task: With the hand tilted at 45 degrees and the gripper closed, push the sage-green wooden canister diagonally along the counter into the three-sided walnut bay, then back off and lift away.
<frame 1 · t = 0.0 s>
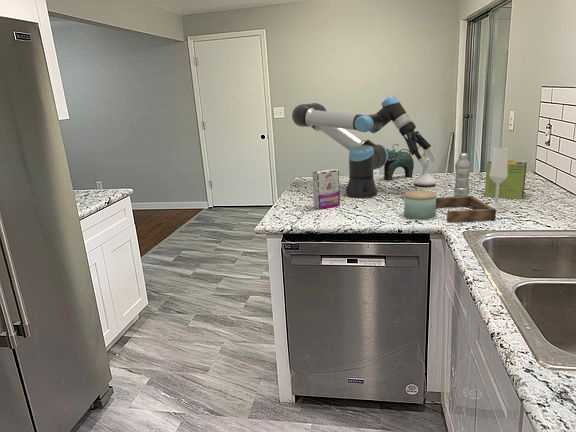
hand: (429, 162, 206), 15 cm above the countertop, tool tilted 35°, fingers open, 13 cm apart
flower in vase: (424, 185, 230), on the countertop
green canister: (419, 215, 176), on the countertop
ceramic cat: (397, 179, 251), on the countertop
plastic bottle: (461, 197, 201), on the countertop
candy bar box: (326, 207, 197), on the countertop
walnut bay: (458, 213, 176), on the countertop
champagne flute: (495, 206, 183), on the countertop
protein box: (504, 196, 201), on the countertop
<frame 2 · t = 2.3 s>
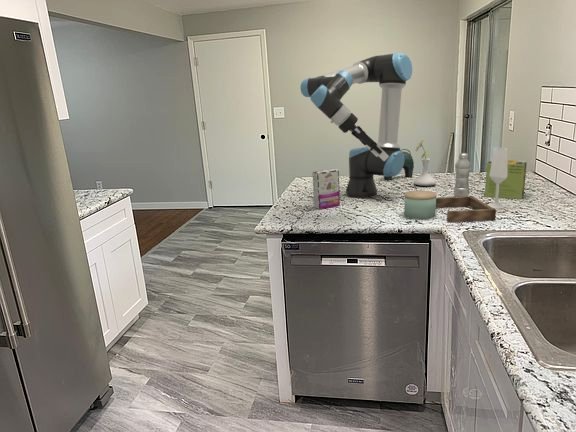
hand: (382, 156, 173), 24 cm above the countertop, tool tilted 45°, fingers open, 13 cm apart
nothing on the countertop moved.
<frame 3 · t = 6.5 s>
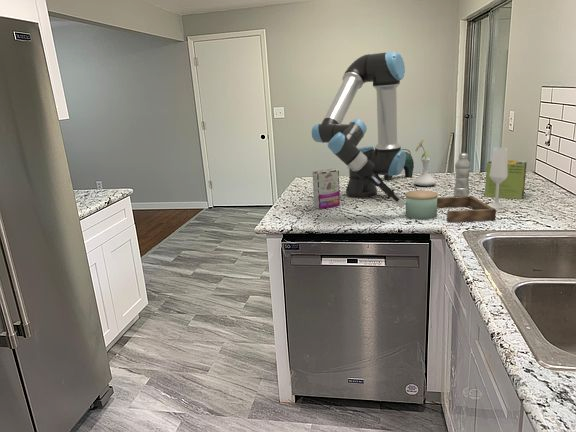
hand: (403, 205, 175), 4 cm above the countertop, tool tilted 45°, fingers closed
green canister: (420, 215, 176), on the countertop, touching gripper
everything else where it was.
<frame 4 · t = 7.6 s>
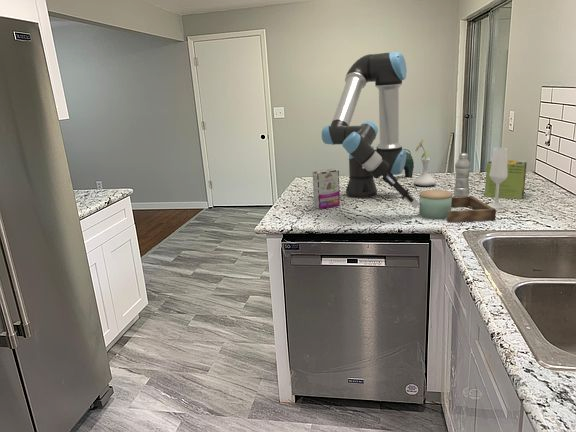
hand: (417, 205, 174), 4 cm above the countertop, tool tilted 45°, fingers closed
green canister: (434, 214, 175), on the countertop, touching gripper
everything else where it was.
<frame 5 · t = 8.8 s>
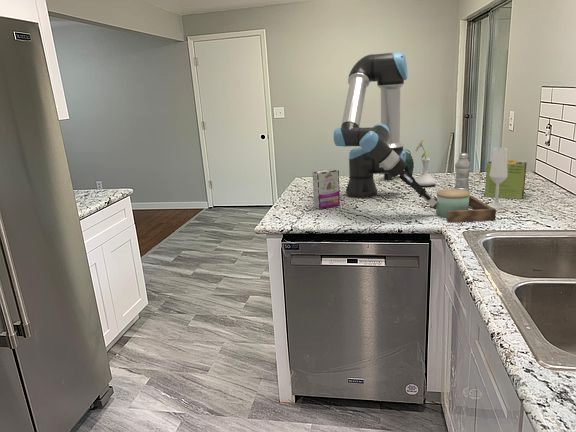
hand: (434, 204, 174), 4 cm above the countertop, tool tilted 45°, fingers closed
green canister: (452, 214, 175), on the countertop
everything else where it was.
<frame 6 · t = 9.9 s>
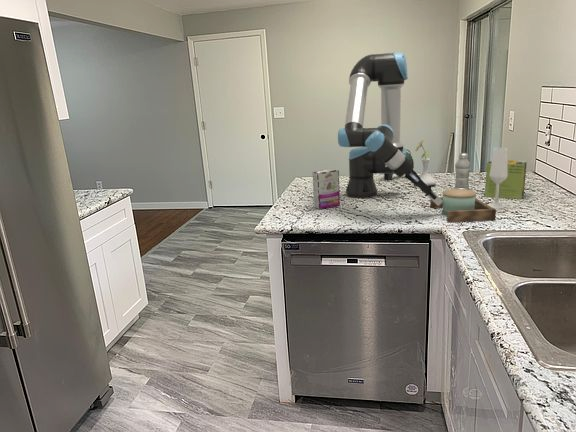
hand: (440, 203, 175), 5 cm above the countertop, tool tilted 45°, fingers closed
green canister: (458, 213, 175), on the countertop
everything else where it was.
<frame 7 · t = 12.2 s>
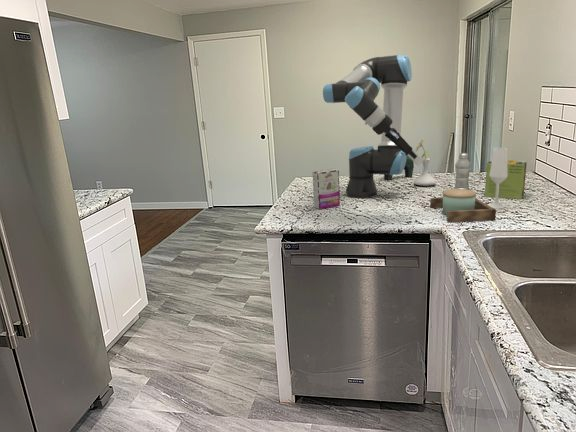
hand: (420, 163, 171), 21 cm above the countertop, tool tilted 45°, fingers closed
nothing on the countertop moved.
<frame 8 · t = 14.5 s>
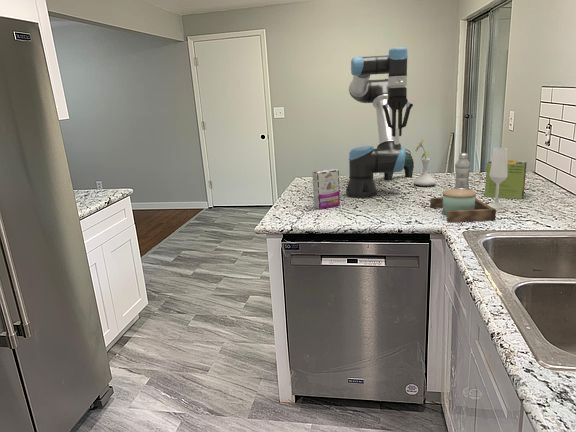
hand: (396, 144, 189), 26 cm above the countertop, tool pointing down, fingers closed
nothing on the countertop moved.
at the end: green canister 0.4 cm from the walnut bay (horizontally); green canister tilted 0°; green canister moved 15.2 cm from its start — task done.
